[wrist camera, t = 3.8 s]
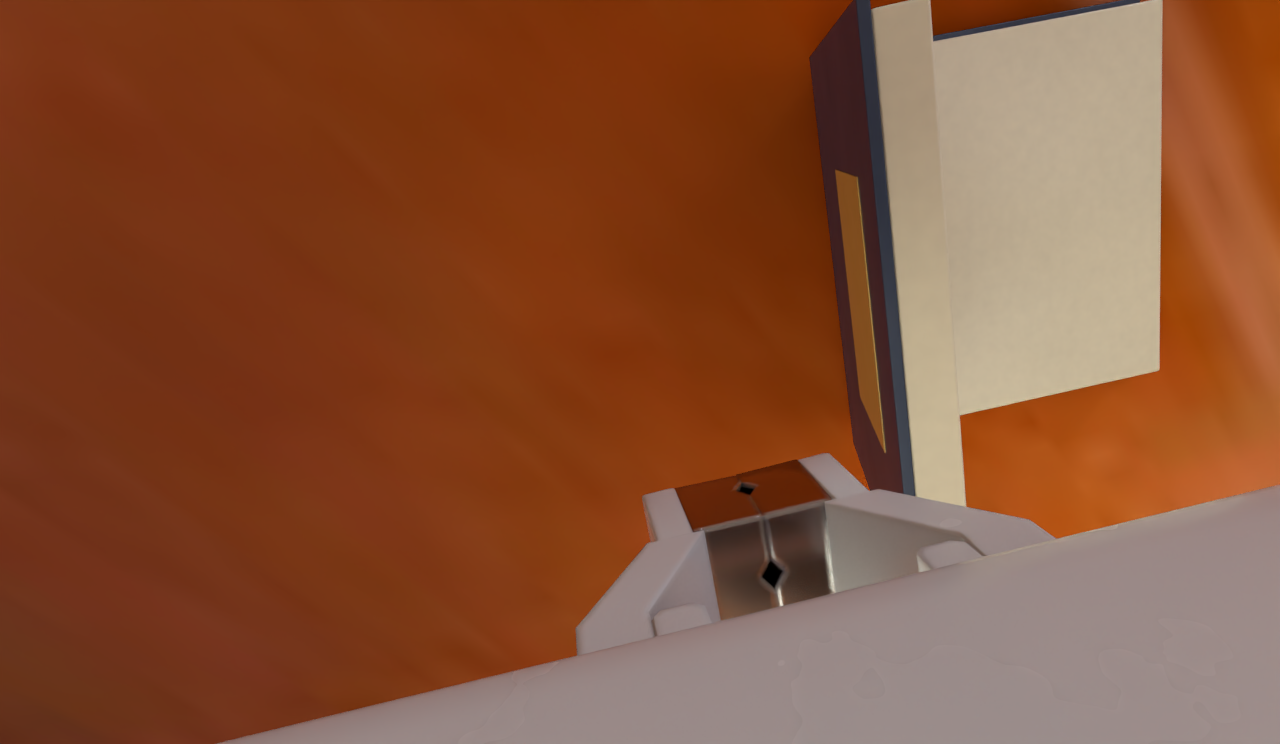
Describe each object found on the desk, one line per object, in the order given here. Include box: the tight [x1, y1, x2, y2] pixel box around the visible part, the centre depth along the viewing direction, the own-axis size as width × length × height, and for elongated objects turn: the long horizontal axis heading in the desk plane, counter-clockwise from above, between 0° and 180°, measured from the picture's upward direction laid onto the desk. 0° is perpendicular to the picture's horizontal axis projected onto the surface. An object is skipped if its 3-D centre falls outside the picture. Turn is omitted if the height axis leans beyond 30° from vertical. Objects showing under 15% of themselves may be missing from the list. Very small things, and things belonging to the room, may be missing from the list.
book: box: [933, 0, 1162, 415], centre depth 31 cm, size 13×16×2 cm
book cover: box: [810, 0, 966, 507], centre depth 24 cm, size 13×16×2 cm
